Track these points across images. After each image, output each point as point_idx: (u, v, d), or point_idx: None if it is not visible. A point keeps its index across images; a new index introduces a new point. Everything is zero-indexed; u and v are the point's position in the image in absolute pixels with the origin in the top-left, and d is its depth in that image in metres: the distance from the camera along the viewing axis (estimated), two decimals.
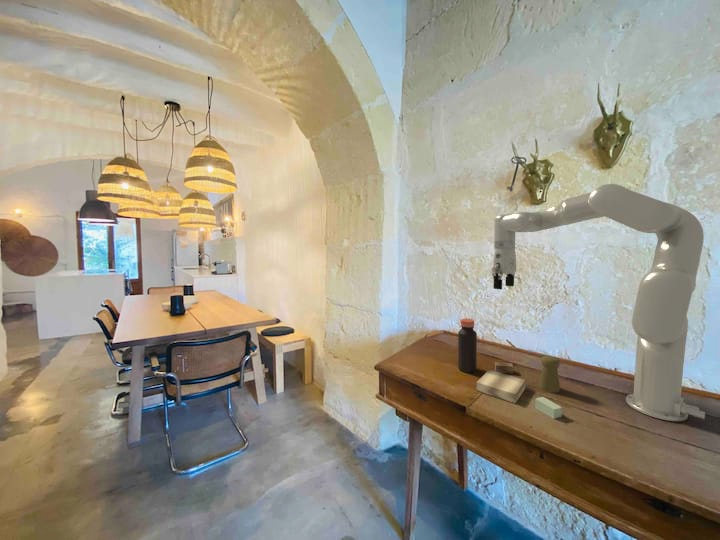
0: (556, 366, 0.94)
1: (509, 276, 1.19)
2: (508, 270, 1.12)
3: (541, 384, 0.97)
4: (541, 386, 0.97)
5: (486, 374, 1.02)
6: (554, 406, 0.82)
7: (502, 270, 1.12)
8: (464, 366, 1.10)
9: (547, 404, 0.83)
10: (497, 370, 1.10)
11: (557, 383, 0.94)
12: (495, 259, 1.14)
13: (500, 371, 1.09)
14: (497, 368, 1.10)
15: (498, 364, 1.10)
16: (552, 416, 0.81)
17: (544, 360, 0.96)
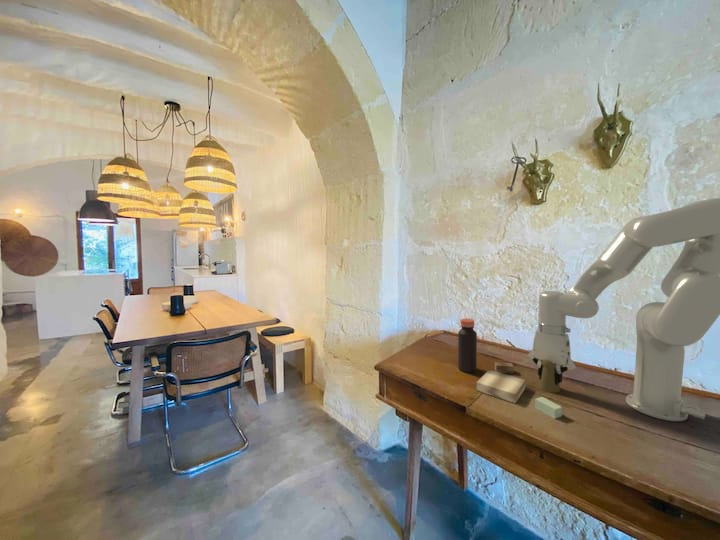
0: None
1: None
2: None
3: (541, 384, 0.97)
4: (541, 386, 0.97)
5: (486, 374, 1.02)
6: (555, 406, 0.82)
7: None
8: (464, 366, 1.10)
9: (547, 404, 0.83)
10: (497, 370, 1.10)
11: None
12: (566, 348, 0.91)
13: (500, 371, 1.09)
14: (497, 368, 1.09)
15: (498, 364, 1.10)
16: (553, 416, 0.81)
17: (544, 360, 0.96)
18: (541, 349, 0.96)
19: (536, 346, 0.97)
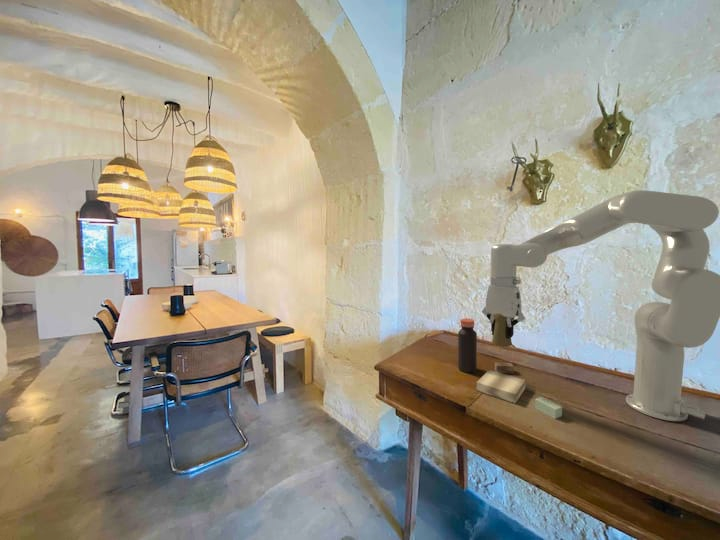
0: None
1: None
2: None
3: (493, 339, 0.96)
4: (493, 341, 0.96)
5: (486, 374, 1.02)
6: (555, 405, 0.82)
7: (520, 312, 0.92)
8: (464, 366, 1.10)
9: (548, 404, 0.83)
10: (498, 370, 1.09)
11: None
12: (516, 300, 0.90)
13: (501, 371, 1.09)
14: (498, 368, 1.09)
15: (498, 364, 1.10)
16: (553, 416, 0.81)
17: (495, 314, 0.94)
18: (493, 303, 0.95)
19: (488, 301, 0.96)
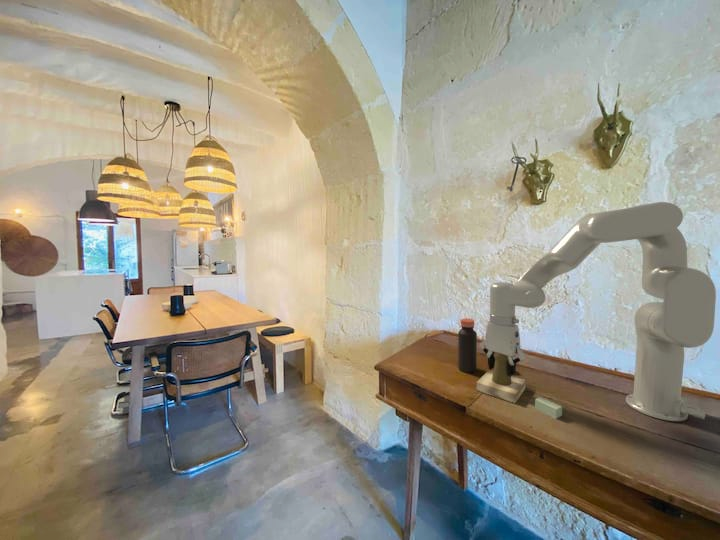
0: (507, 359, 0.94)
1: (491, 357, 0.99)
2: None
3: (493, 377, 0.97)
4: (493, 379, 0.97)
5: (486, 374, 1.02)
6: (555, 405, 0.82)
7: None
8: (464, 366, 1.10)
9: (548, 404, 0.83)
10: None
11: (508, 376, 0.94)
12: (515, 339, 0.91)
13: None
14: None
15: None
16: (554, 416, 0.81)
17: (495, 353, 0.95)
18: (492, 341, 0.96)
19: (488, 337, 0.97)
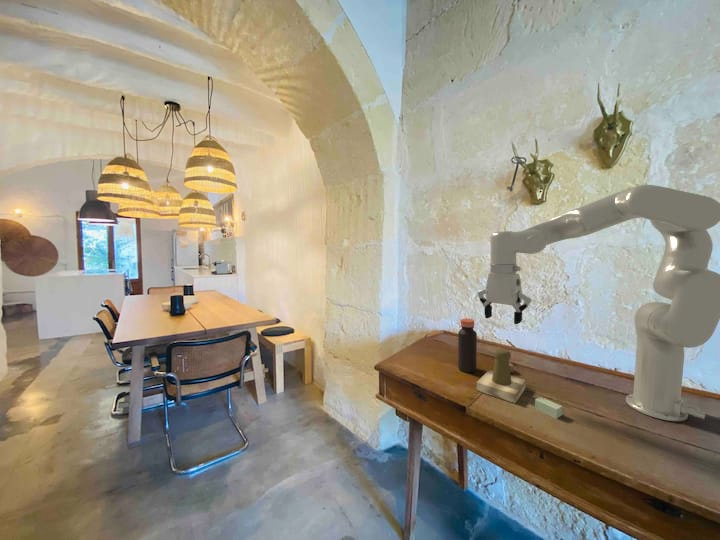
0: (506, 359, 0.94)
1: (488, 306, 0.98)
2: None
3: (493, 377, 0.97)
4: (493, 379, 0.97)
5: (486, 374, 1.02)
6: (555, 405, 0.82)
7: (521, 299, 0.91)
8: (464, 366, 1.10)
9: (548, 404, 0.83)
10: None
11: (508, 376, 0.94)
12: (516, 287, 0.89)
13: None
14: None
15: None
16: (554, 416, 0.81)
17: (495, 353, 0.96)
18: (493, 291, 0.94)
19: (488, 289, 0.95)
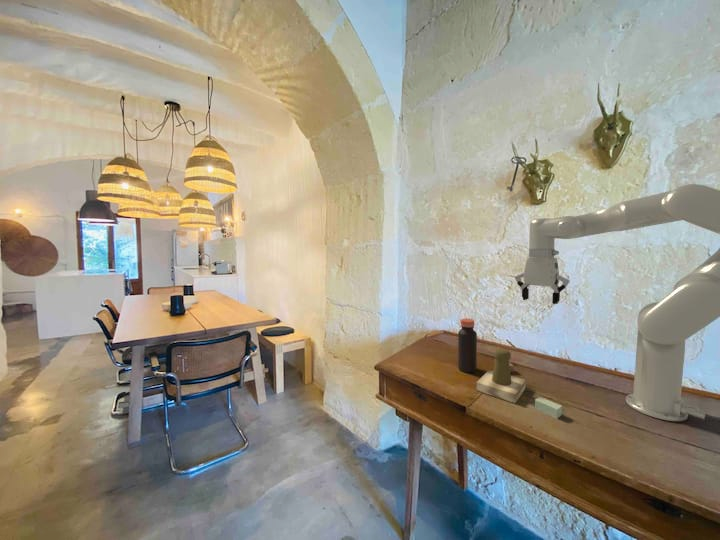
0: (506, 359, 0.94)
1: (525, 289, 1.06)
2: None
3: (493, 377, 0.97)
4: (493, 379, 0.97)
5: (486, 374, 1.02)
6: (555, 405, 0.82)
7: (558, 281, 0.99)
8: (464, 366, 1.10)
9: (548, 404, 0.83)
10: None
11: (508, 376, 0.94)
12: (555, 269, 0.97)
13: None
14: None
15: None
16: (555, 416, 0.81)
17: (495, 353, 0.96)
18: (531, 274, 1.02)
19: (527, 272, 1.03)
